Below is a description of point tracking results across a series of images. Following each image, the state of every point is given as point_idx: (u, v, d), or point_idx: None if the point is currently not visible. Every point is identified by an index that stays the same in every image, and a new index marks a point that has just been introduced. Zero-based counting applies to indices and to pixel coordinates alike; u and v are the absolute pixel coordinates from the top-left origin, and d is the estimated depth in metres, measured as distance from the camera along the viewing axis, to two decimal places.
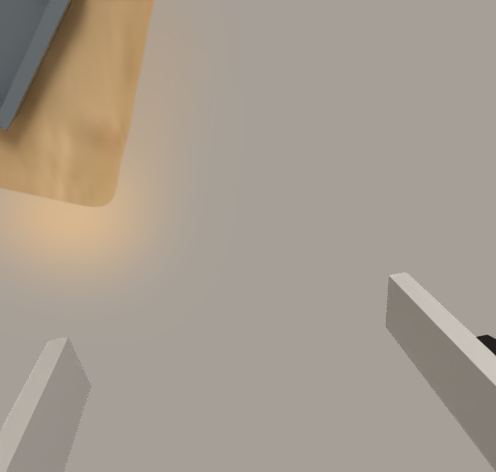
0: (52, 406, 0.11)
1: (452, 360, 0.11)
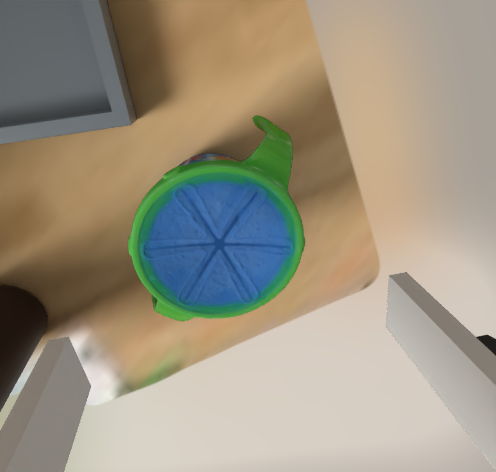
0: (52, 406, 0.11)
1: (452, 360, 0.11)
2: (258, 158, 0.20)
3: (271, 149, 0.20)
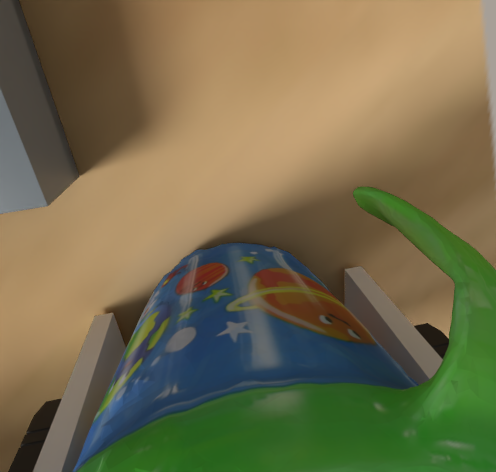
0: (105, 372, 0.12)
1: (391, 346, 0.12)
2: (458, 400, 0.05)
3: (493, 353, 0.06)
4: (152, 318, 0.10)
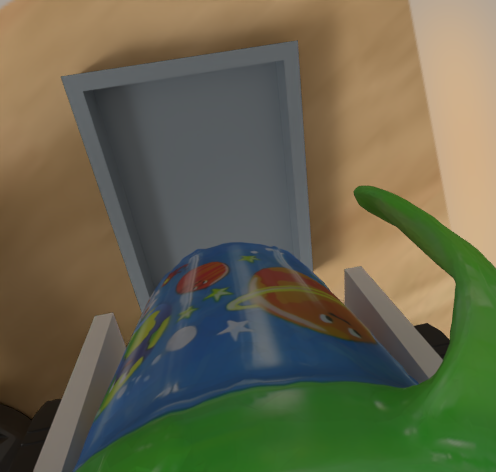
0: (105, 372, 0.12)
1: (391, 346, 0.12)
2: (458, 397, 0.05)
3: (494, 351, 0.06)
4: (152, 318, 0.10)
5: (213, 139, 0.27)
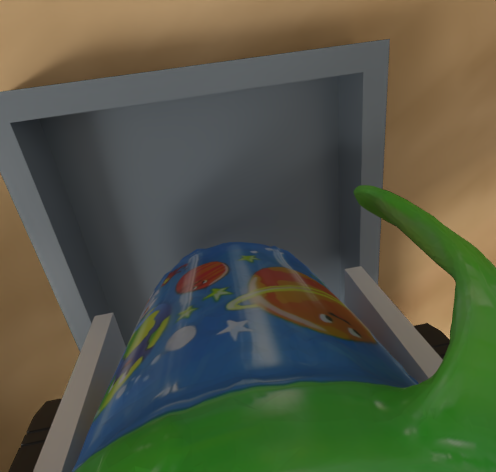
0: (105, 372, 0.12)
1: (391, 346, 0.12)
2: (459, 397, 0.05)
3: (494, 351, 0.06)
4: (152, 318, 0.10)
5: (233, 191, 0.17)
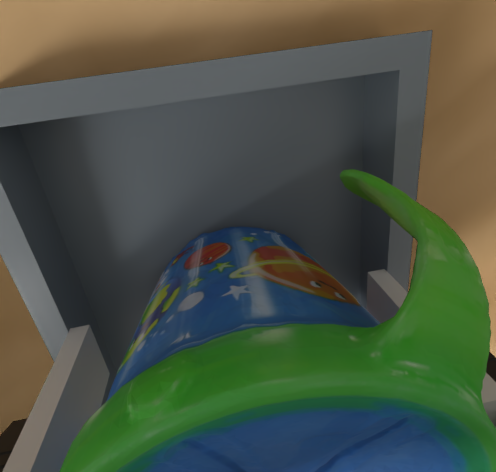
0: (77, 389, 0.12)
1: None
2: (415, 330, 0.06)
3: (446, 295, 0.07)
4: (164, 290, 0.11)
5: (242, 206, 0.15)
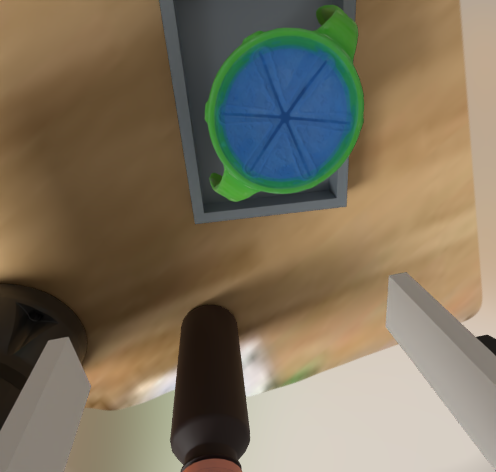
0: (52, 406, 0.11)
1: (452, 360, 0.11)
2: (329, 27, 0.22)
3: (340, 22, 0.22)
4: None
5: None
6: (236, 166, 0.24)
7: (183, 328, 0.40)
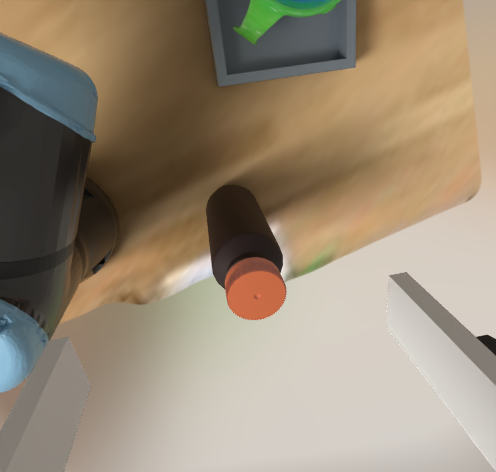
0: (52, 406, 0.11)
1: (452, 360, 0.11)
2: None
3: None
4: None
5: None
6: None
7: (209, 204, 0.43)
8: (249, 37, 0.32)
